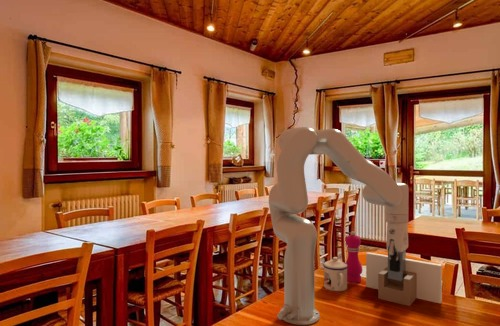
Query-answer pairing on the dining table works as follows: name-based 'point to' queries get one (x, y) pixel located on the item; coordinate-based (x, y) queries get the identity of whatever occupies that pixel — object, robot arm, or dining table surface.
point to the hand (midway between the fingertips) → (396, 269)
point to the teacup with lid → (335, 275)
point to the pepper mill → (353, 258)
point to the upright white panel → (404, 280)
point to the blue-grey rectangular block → (402, 272)
